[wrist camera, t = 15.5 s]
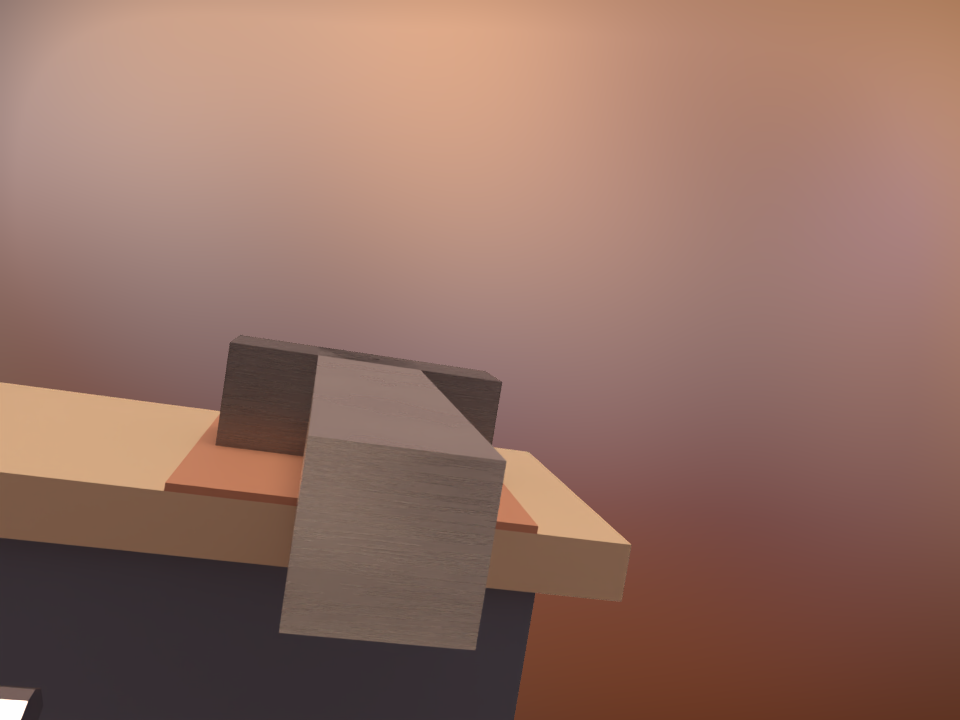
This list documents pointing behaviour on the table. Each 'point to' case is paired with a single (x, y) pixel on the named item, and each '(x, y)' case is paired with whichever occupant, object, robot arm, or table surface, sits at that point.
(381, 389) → the steel T-bar
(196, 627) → the wood-topped grey cube
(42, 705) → the robot arm
